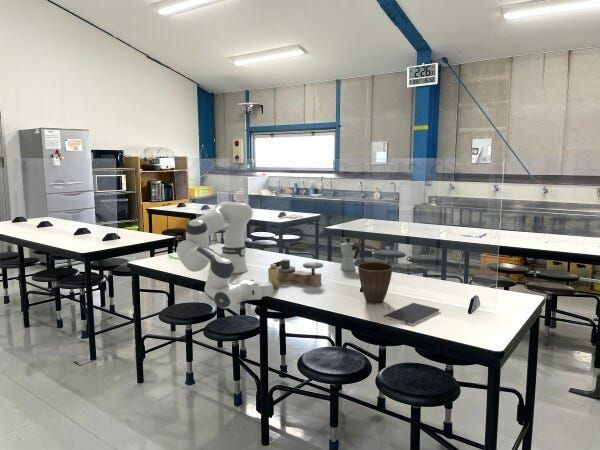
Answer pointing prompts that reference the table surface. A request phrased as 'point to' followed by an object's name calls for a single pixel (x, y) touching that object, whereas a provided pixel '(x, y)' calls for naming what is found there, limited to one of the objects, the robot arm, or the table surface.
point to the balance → (300, 273)
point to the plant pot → (374, 281)
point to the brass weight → (273, 276)
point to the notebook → (412, 313)
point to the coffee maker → (348, 255)
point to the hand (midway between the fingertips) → (260, 282)
